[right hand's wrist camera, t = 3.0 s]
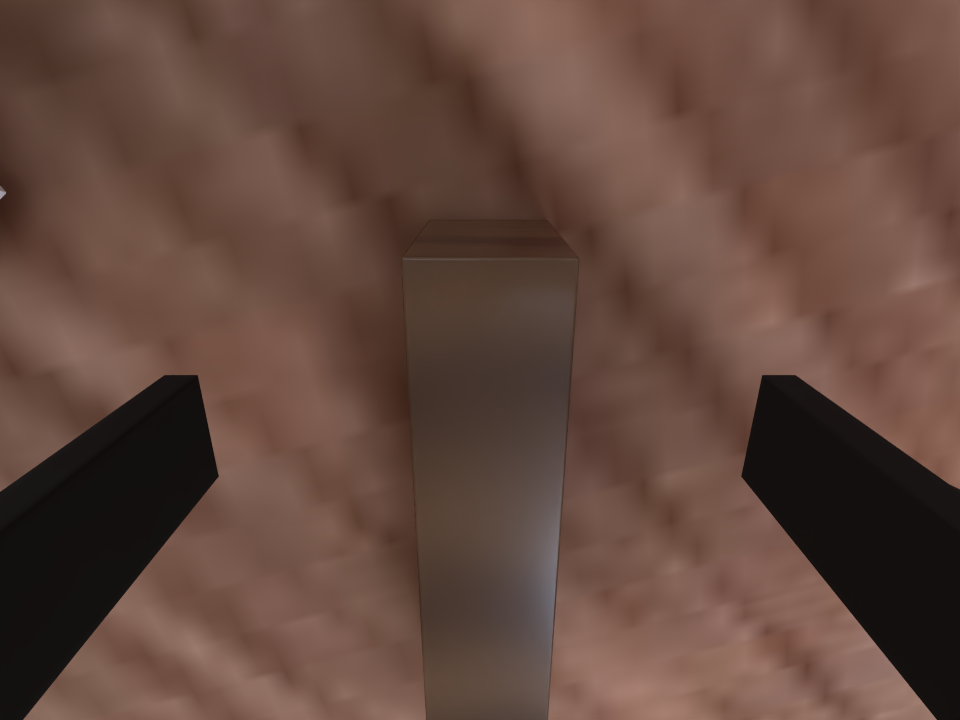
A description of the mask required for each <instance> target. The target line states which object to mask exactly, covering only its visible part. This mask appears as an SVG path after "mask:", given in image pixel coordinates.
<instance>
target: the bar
mask: <svg viewBox="0 0 960 720" xmlns="http://www.w3.org/2000/svg"><path fill="white" fill-rule="evenodd" d="M401 266H402V285H403V303H404V321H405V340H406V358H407V377H408V395H409V413H410V432H411V450H412V468H413V487H414V505H415V524H416V542H417V560H418V579H419V597H420V615H421V634H422V652H423V671H424V689H425V707H426V720H548V709H549V694H550V680H551V665H552V651H553V636H554V621H555V607H556V592H557V578H558V563H559V548H560V534H561V519H562V505H563V490H564V475H565V461H566V446H567V432H568V417H569V402H570V388H571V373H572V359H573V344H574V329H575V315H576V300H577V286H578V271H579V258H578V256H577V255H576V254H575V253H574V252H573V250H572V249H571V248H570V247H569V246H568V244H567V243H566V242H565V241H564V240H563V238H562V237H561V236H560V235H559V234H558V232H557V231H556V230H555V229H554V228H553V226H552V225H551V224H550V223H549V222H548V221H547V220H430V221H429V222H428V224H427V225H426V226H425V228H424V229H423V230H422V232H421V233H420V234H419V235H418V237H417V238H416V239H415V241H414V242H413V243H412V245H411V246H410V247H409V249H408V250H407V251H406V252H405V254H404V255H403V256H402V258H401Z"/></svg>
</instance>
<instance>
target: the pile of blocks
mask: <svg viewBox="0 0 960 720" xmlns="http://www.w3.org/2000/svg"><path fill="white" fill-rule="evenodd" d="M5 194H6V192H5V190H4V189H3V188H2V187H1V186H0V199H1V198H2V197H3V196H4V195H5Z"/></svg>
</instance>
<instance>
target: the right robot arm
mask: <svg viewBox="0 0 960 720" xmlns="http://www.w3.org/2000/svg"><path fill="white" fill-rule="evenodd" d="M218 477H219V476H218V471H217V466H216V461H215V457H214V452H213V447H212V442H211V437H210V433H209V428H208V423H207V418H206V413H205V408H204V404H203V399H202V394H201V389H200V384H199V379H198V375H164V376H163V377H161V378H160V379H159V380H157V381H156V382H154V383H153V384H152V385H150V386H149V387H147V388H146V389H145V390H143V391H142V392H140V393H139V394H138V395H136V396H135V397H133V398H132V399H131V400H129V401H128V402H126V403H125V404H123V405H122V406H121V407H119V408H118V409H116V410H115V411H114V412H112V413H111V414H109V415H108V416H107V417H105V418H104V419H102V420H101V421H100V422H98V423H97V424H95V425H94V426H92V427H91V428H90V429H88V430H87V431H85V432H84V433H83V434H81V435H80V436H78V437H77V438H76V439H74V440H73V441H71V442H70V443H69V444H67V445H66V446H64V447H63V448H62V449H60V450H59V451H57V452H56V453H54V454H53V455H52V456H50V457H49V458H47V459H46V460H45V461H43V462H42V463H40V464H39V465H38V466H36V467H35V468H33V469H32V470H31V471H29V472H28V473H26V474H25V475H23V476H22V477H21V478H19V479H18V480H16V481H15V482H14V483H12V484H11V485H9V486H8V487H7V488H5V489H4V490H2V491H1V492H0V720H23V719H24V718H25V717H26V715H27V714H28V713H29V712H30V710H31V709H32V708H33V707H34V705H35V704H36V703H37V702H38V700H39V699H40V698H41V697H42V696H43V694H44V693H45V692H46V691H47V689H48V688H49V687H50V686H51V684H52V683H53V682H54V681H55V679H56V678H57V677H58V676H59V674H60V673H61V672H62V671H63V669H64V668H65V667H66V666H67V664H68V663H69V662H70V661H71V659H72V658H73V657H74V656H75V654H76V653H77V652H78V651H79V649H80V648H81V647H82V646H83V645H84V643H85V642H86V641H87V640H88V638H89V637H90V636H91V635H92V633H93V632H94V631H95V630H96V628H97V627H98V626H99V625H100V623H101V622H102V621H103V620H104V618H105V617H106V616H107V615H108V613H109V612H110V611H111V610H112V608H113V607H114V606H115V605H116V603H117V602H118V601H119V600H120V598H121V597H122V596H123V595H124V593H125V592H126V591H127V590H128V589H129V587H130V586H131V585H132V584H133V582H134V581H135V580H136V579H137V577H138V576H139V575H140V574H141V572H142V571H143V570H144V569H145V567H146V566H147V565H148V564H149V562H150V561H151V560H152V559H153V557H154V556H155V555H156V554H157V552H158V551H159V550H160V549H161V547H162V546H163V545H164V544H165V542H166V541H167V540H168V539H169V538H170V536H171V535H172V534H173V533H174V531H175V530H176V529H177V528H178V526H179V525H180V524H181V523H182V521H183V520H184V519H185V518H186V516H187V515H188V514H189V513H190V511H191V510H192V509H193V508H194V506H195V505H196V504H197V503H198V501H199V500H200V499H201V498H202V496H203V495H204V494H205V493H206V491H207V490H208V489H209V488H210V487H211V485H212V484H213V483H214V482H215V480H216V479H217V478H218ZM741 477H742V478H743V479H744V480H745V482H746V483H747V484H748V485H749V487H750V488H751V489H752V490H753V491H754V493H755V494H756V495H757V496H758V498H759V499H760V500H761V501H762V503H763V504H764V505H765V506H766V508H767V509H768V510H769V511H770V513H771V514H772V515H773V516H774V518H775V519H776V520H777V521H778V523H779V524H780V525H781V526H782V528H783V529H784V530H785V531H786V533H787V534H788V535H789V536H790V538H791V539H792V540H793V541H794V542H795V544H796V545H797V546H798V547H799V549H800V550H801V551H802V552H803V554H804V555H805V556H806V557H807V559H808V560H809V561H810V562H811V564H812V565H813V566H814V567H815V569H816V570H817V571H818V572H819V574H820V575H821V576H822V577H823V579H824V580H825V581H826V582H827V584H828V585H829V586H830V587H831V589H832V590H833V591H834V592H835V594H836V595H837V596H838V597H839V598H840V600H841V601H842V602H843V603H844V605H845V606H846V607H847V608H848V610H849V611H850V612H851V613H852V615H853V616H854V617H855V618H856V620H857V621H858V622H859V623H860V625H861V626H862V627H863V628H864V630H865V631H866V632H867V633H868V635H869V636H870V637H871V638H872V640H873V641H874V642H875V643H876V645H877V646H878V647H879V648H880V649H881V651H882V652H883V653H884V654H885V656H886V657H887V658H888V659H889V661H890V662H891V663H892V664H893V666H894V667H895V668H896V669H897V671H898V672H899V673H900V674H901V676H902V677H903V678H904V679H905V681H906V682H907V683H908V684H909V686H910V687H911V688H912V689H913V691H914V692H915V693H916V694H917V696H918V697H919V698H920V699H921V700H922V702H923V703H924V704H925V705H926V707H927V708H928V709H929V710H930V712H931V713H932V714H933V715H934V717H935V718H936V719H937V720H960V489H958V488H956V487H954V486H952V485H949V484H948V483H946V482H945V481H944V480H942V479H941V478H939V477H938V476H937V475H935V474H934V473H932V472H931V471H929V470H928V469H927V468H925V467H924V466H922V465H921V464H920V463H918V462H917V461H915V460H914V459H913V458H911V457H910V456H908V455H907V454H906V453H904V452H903V451H901V450H900V449H898V448H897V447H896V446H894V445H893V444H891V443H890V442H889V441H887V440H886V439H884V438H883V437H882V436H880V435H879V434H877V433H876V432H875V431H873V430H872V429H870V428H869V427H868V426H866V425H865V424H863V423H862V422H860V421H859V420H858V419H856V418H855V417H853V416H852V415H851V414H849V413H848V412H846V411H845V410H844V409H842V408H841V407H839V406H838V405H837V404H835V403H834V402H832V401H831V400H829V399H828V398H827V397H825V396H824V395H822V394H821V393H820V392H818V391H817V390H815V389H814V388H813V387H811V386H810V385H808V384H807V383H806V382H804V381H803V380H801V379H800V378H799V377H797V376H796V375H762V379H761V384H760V389H759V394H758V399H757V404H756V408H755V413H754V418H753V423H752V428H751V433H750V437H749V442H748V447H747V452H746V457H745V461H744V466H743V471H742V476H741Z"/></svg>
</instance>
